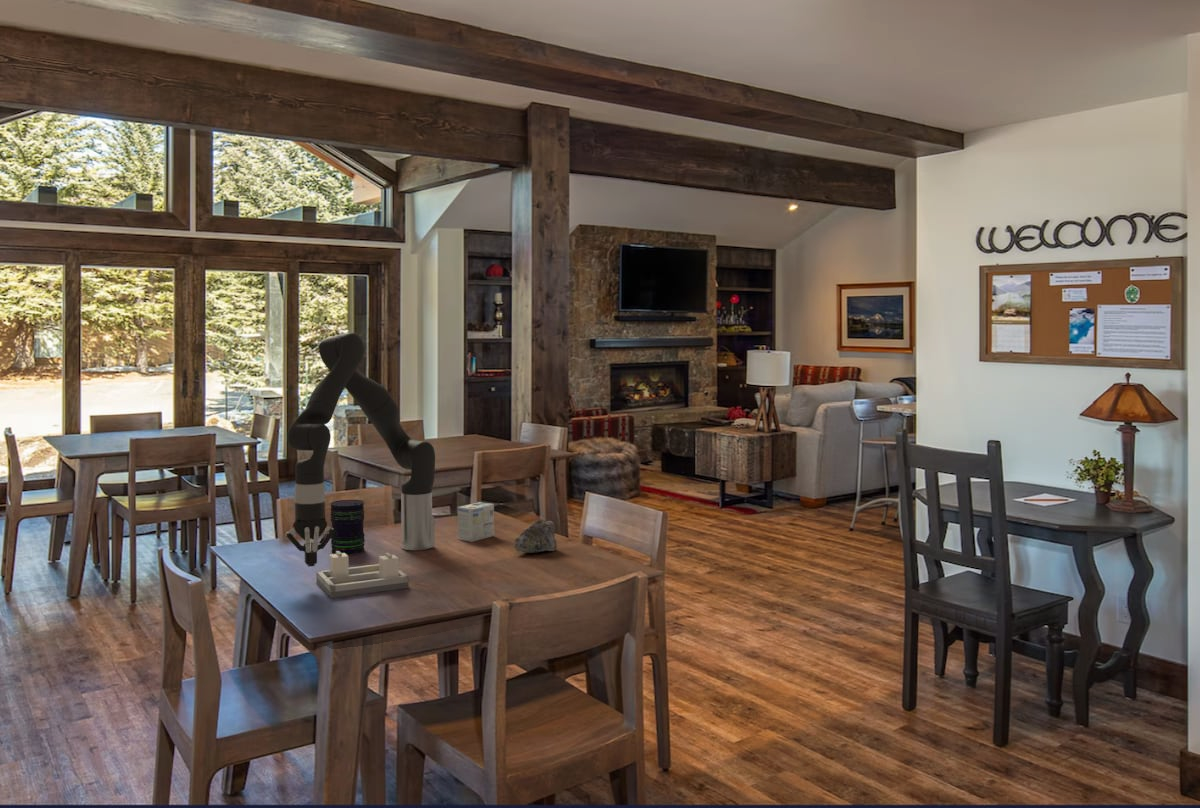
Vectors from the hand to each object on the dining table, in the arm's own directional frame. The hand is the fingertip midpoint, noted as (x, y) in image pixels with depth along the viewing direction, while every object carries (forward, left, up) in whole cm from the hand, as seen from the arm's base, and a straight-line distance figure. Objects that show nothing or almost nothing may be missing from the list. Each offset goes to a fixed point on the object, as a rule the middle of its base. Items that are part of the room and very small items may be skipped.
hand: (310, 565), depth 241 cm
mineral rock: (-68, -8, -6) cm, 69 cm away
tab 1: (-7, 0, -4) cm, 8 cm away
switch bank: (-12, +4, -6) cm, 14 cm away
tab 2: (-18, +8, -4) cm, 20 cm away
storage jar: (-18, -34, -6) cm, 39 cm away
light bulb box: (-59, -33, -6) cm, 68 cm away
